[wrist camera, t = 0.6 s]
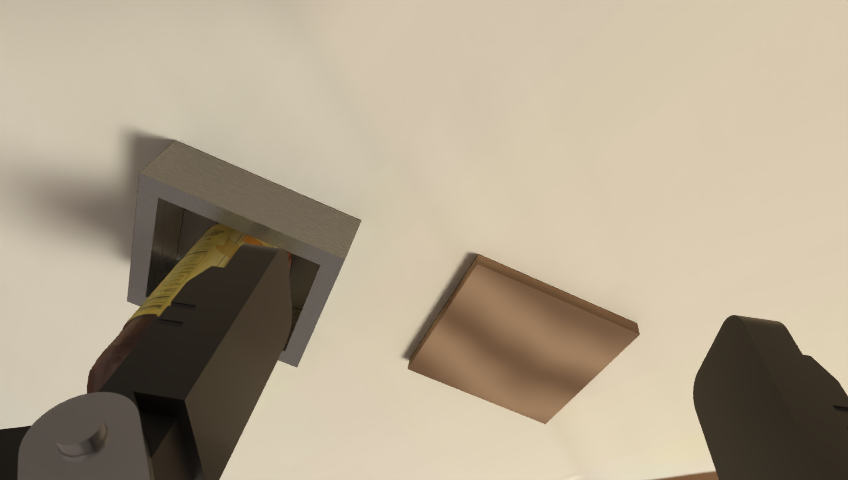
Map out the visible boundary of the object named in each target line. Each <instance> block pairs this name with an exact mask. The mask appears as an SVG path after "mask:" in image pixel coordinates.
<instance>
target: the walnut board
mask: <svg viewBox="0 0 848 480" xmlns="http://www.w3.org/2000/svg"><path fill="white" fill-rule="evenodd" d="M639 335H640V334H639V329H638V325H637V323H634V322H632V321H630V320H628V319H625V318H623V317H621V316H618V315H616V314H614V313H612V312H609V311H607V310H605V309H602V308H600V307H598V306H596V305H593V304H591V303H589V302H586V301H584V300H582V299H580V298H577V297H575V296H573V295H570V294H568V293H566V292H564V291H561V290H559V289H557V288H554V287H552V286H550V285H548V284H545V283H543V282H541V281H538V280H536V279H534V278H532V277H529V276H527V275H525V274H522V273H520V272H518V271H516V270H513V269H511V268H509V267H506V266H504V265H502V264H499V263H497V262H495V261H493V260H490V259H488V258H486V257H483V256H481V255H479V254H478V256H477V257H476V259H475V260H474V262H473V264H472V265H471V267H470V268H469V270H468V271H467V273H466V274H465V276H464V277H463V279H462V280H461V282H460V283H459V285H458V286H457V288H456V289H455V291H454V292H453V294H452V296H451V297H450V299H449V300H448V302H447V303H446V305H445V306H444V308H443V309H442V311H441V312H440V314H439V315H438V317H437V318H436V320H435V321H434V323H433V324H432V326H431V328H430V329H429V331H428V332H427V334H426V335H425V337H424V338H423V340H422V341H421V343H420V344H419V346H418V347H417V349H416V350H415V352H414V353H413V355H412V356H411V358H410V361H409V365H408V369H409V370H412V371H414V372H417V373H419V374H422V375H424V376H426V377H429V378H431V379H434V380H436V381H439V382H441V383H444V384H446V385H449V386H451V387H454V388H456V389H459V390H461V391H464V392H466V393H469V394H471V395H474V396H476V397H479V398H481V399H484V400H486V401H489V402H491V403H494V404H496V405H499V406H501V407H504V408H506V409H509V410H511V411H514V412H516V413H519V414H521V415H524V416H526V417H529V418H531V419H534V420H536V421H539V422H541V423H544V424H546V423H547V422H548V421H549V420H550V419H551V418H552V417H553V416H554V415H555V414H556V413H558V412H559V411H560V410H561V409H562V408H563V407H564V406H565V405H566V404H567V403H568V402H569V401H570V400H571V399H572V398H573V397H574V396H575V395H576V394H578V393H579V392H580V391H581V390H582V389H583V388H584V387H585V386H586V385H587V384H588V383H589V382H590V381H591V380H592V379H593V378H594V377H595V376H597V375H598V374H599V373H600V372H601V371H602V370H603V369H604V368H605V367H606V366H607V365H608V364H609V363H610V362H611V361H612V360H613V359H614V358H615V357H617V356H618V355H619V354H620V353H621V352H622V351H623V350H624V349H625V348H626V347H627V346H628V345H629V344H630V343H631V342H632V341H633V340H634V339H635V338H637V337H638V336H639Z"/></svg>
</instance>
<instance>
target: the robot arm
mask: <svg viewBox="0 0 848 480" xmlns="http://www.w3.org/2000/svg"><path fill="white" fill-rule="evenodd" d="M157 319H158V320H157V323H153V324H152V326H151V327H150V328H149V329H148V331H147V332H146V333H145V334H144V336H143V337H142V338H141V339H140V341H139V342H138V343H137V344H136V346H135V347H134V348H133V349H132V351H131V352H130V353H129V354H128V355H127V357H126V358H125V359H124V360H123V362H122V363H121V364H120V365H119V367H118V368H117V369H116V370H115V372H114V373H113V374H112V375H111V377H110V378H109V379H108V380H107V382H106V383H105V384H104V385H103V387H102V388H101V389H100V390H99V391H98V392H95V393H88V394H84V395H80V396H77V397H74V398H71V399H69V400H67V401H65V402H62V403H60V404H58V405H57V406H55V407H53V408H52V409H50V410H49V411H48V412H46V413H45V414H44V415H42V416H41V417H40V418H39V419H38V420H37V421H36V422H35V423H34V424H33V425H32V426H26V427H18V428H9V429H1V430H0V480H219V479H220V477H221V475H222V473H223V471H224V469H225V467H226V465H227V463H228V461H229V459H230V457H231V455H232V453H233V450H234V448H235V446H236V444H237V442H238V440H239V438H240V436H241V434H242V432H243V430H244V428H245V426H246V424H247V422H248V420H249V418H250V416H251V414H252V412H253V410H254V407H255V405H256V403H257V401H258V399H259V397H260V395H261V393H262V391H263V389H264V387H265V385H266V383H267V381H268V379H269V377H270V375H271V373H272V371H273V369H274V367H275V364H276V362H277V360H278V358H279V356H280V354H281V352H282V350H283V348H284V346H285V344H286V342H287V339H288V336H289V333H290V328H291V323H292V299H291V287H290V275H289V262H288V255H287V252H286V250H285V249H282V248H275V247H268V246H261V245H254V244H248V243H245V244H242V245H241V246H240V247H239V249H238V250H237V251H236V253H235V254H234V255H233V257H232V258H231V259H230V261H229V262H228V263H227V265H226V266H225V267H217V266H211V267H209V268H208V269H206V270H204V271H203V272H201V273H200V274H198V275H197V276H195V277H193V278H192V279H190V280H189V281H187V282H186V283H185V285H184V286H183V287H182V288H181V290H180V291H179V292H178V293H177V295H176V296H175V297H174V298H173V300H172V301H171V305H170V306H167V307H166V308H165V310H164V311H163V312H162V313H161V315H160V316H159V317H158V318H157ZM693 399H694V406H695V410H696V413H697V416H698V419H699V422H700V425H701V428H702V431H703V433H704V436H705V439H706V442H707V445H708V448H709V451H710V454H711V457H712V460H713V463H714V466H715V469H716V472H717V475H718V478H719V480H848V396H847V394H846V393H845V391H844V390H843V388H842V387H841V385H840V383H839V382H838V381H837V380H836V379H835V378H834V377H833V376H832V375H831V374H830V373H829V372H827V371H826V370H825V369H824V368H823V367H822V366H821V365H820V364H819V363H818V362H817V361H815V360H814V359H813V358H812V357H811V356H808V355H802V353H801V351H800V350H799V348H798V346H797V345H796V343H795V341H794V340H793V338H792V336H791V335H790V333H789V331H788V330H787V328H786V327H785V326H784V325H783V324H782V323H780V322H778V321H772V320H765V319H758V318H751V317H744V316H737V315H732V316H729V317H728V318H727V319H726V320H725V321H724V323H723V325H722V327H721V328H720V330H719V332H718V334H717V336H716V338H715V340H714V342H713V344H712V346H711V348H710V350H709V352H708V353H707V355H706V357H705V359H704V361H703V363H702V365H701V367H700V369H699V371H698V373H697V375H696V378H695V382H694V390H693Z"/></svg>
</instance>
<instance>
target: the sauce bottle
mask: <svg viewBox="0 0 848 480" xmlns="http://www.w3.org/2000/svg"><path fill="white" fill-rule="evenodd" d="M245 243H248V244H254V245H261V246H268V247H275V248H278V247H276V246H273V245H271V244H268V243H266V242H264V241H261V240H259V239H256V238H254V237H252V236H249V235H247V234H244V233H242V232H240V231H237V230H235V229H233V228H230V227H228V226H225V225H223V224H221V223H217V224H216V225H215V226H213V227H211V228H209V229H208V230H207V231H206V232H205V233H204V234H203V235H202V237H201V238H200V239H199V240H198V241H197V242H196V243H195V244H194V246H193V247H192V248H191V249H190V250H189V251H188V253H187V254H186V255H185V256H184V257H183V258H182V259H181V261H180V262H179V263H178V264H177V265H176V266H175V267H174V268H173V269H172V271H171V272H170V273H169V274H168V275H167V276H166V278H165V279H164V280H163V281H162V282H161V283H160V284H159V286H158V287H157V288H156V289H155V290H154V291H153V293H152V294H151V295H150V296H149V297H148V298H147V299H146V301H145V302H144V303H143V304H142V305H141V306H140V308H139V309H138V310H137V311H136V312H135V313H134V315H133V316H132V317H131V318H130V319H129V320H128V321H127V323H126V324H125V326H124V327H123V330H122V331H121V332H120V334H119V335H118V336H117V337H116V339H115V340H114V341H113V342H112V343H111V344H110V345H109V346H108V348H107V349H105V350H104V352H103V353H102V354H101V355H100V357H99V358H98V359H97V361H96V363H95V364H94V366H93V367H92V369H91V370H90V373H89V376H88V384H87V394H88V393H95V392H98V391H99V390H100V389H101V388H102V387H103V385H104V384H105V383H106V382H107V380H108V379H109V378H110V377H111V375H112V374H113V373H114V372H115V370H116V369H117V368H118V367H119V365H120V364H121V363H122V362H123V360H124V359H125V358H126V357H127V355H128V354H129V353H130V352H131V351H132V349H133V348H134V347H135V346H136V344H137V343H138V342H139V341H140V339H141V338H142V337H143V336H144V334H145V333H146V332H147V331H148V329H149V328H150V327H151V326H152V324H153V323H157V320H158V319H157V318H158V317H159V316H160V315H161V313H162V312H163V311H164V310H165V308H166V307H167V306H170V305H171V301H172V300H173V298H174V297H175V296H176V295H177V293H178V292H179V291H180V290H181V288H182V287H183V286H184V285H185V283H186V282H187V281H189V280H190V279H192V278H193V277H195V276H197V275H198V274H200V273H201V272H203V271H204V270H206V269H208V268H209V267H211V266H217V267H225V266H226V265H227V263H228V262H229V261H230V259H231V258H232V257H233V255H234V254H235V253H236V251H237V250H238V249H239V247H240V246H241V245H242V244H245ZM286 252H287V255H288V262H289V272H290V268H291V263H292V253H290V252H288V251H286Z"/></svg>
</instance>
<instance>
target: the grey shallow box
mask: <svg viewBox="0 0 848 480" xmlns="http://www.w3.org/2000/svg"><path fill="white" fill-rule="evenodd" d="M184 208H185V209H187V210H189V211H192V212H194V213H197V214H199V215H201V216H204V217H206V218H209V219H211V220H213V221H216V222H218V223H221V224H223V225H225V226H228V227H230V228H233V229H235V230H237V231H240V232H242V233H244V234H247V235H249V236H252V237H254V238H256V239H259V240H261V241H264V242H266V243H268V244H271V245H273V246H276V247H278V248H282V249H285V250H286V251H288V252H290V253H292V254H295V255H297V256H300V257H302V258H304V259H307V260H309V261H312V262H314V263H316V264H319V265H320V267H319V270H318V272H317V275H316V277H315V280H314V282H313V284H312V287H311V289H310V292H309V294H308V297H307V299H306V302H305V304H304V306H303V309H302V311H301V310H299V309H296V308H294V307H292V323H291V328H290V333H289V336H288V339H287V342H286V344H285V346H284V348H283V350H282V352H281V354H280V356H279V358H278V360H279V361H282V362H284V363H287V364H290V365H292V366H295V367H297V366H298V364H299V362H300V360H301V357H302V355H303V353H304V351H305V348H306V346H307V344H308V342H309V339H310V337H311V335H312V333H313V330H314V328H315V326H316V324H317V321H318V319H319V317H320V315H321V312H322V310H323V308H324V306H325V303H326V301H327V299H328V297H329V294H330V292H331V290H332V287H333V285H334V283H335V281H336V278H337V276H338V274H339V272H340V269H341V267H342V265H343V263H344V260H345V258H346V256H347V253H348V251H349V249H350V246H351V244H352V242H353V239H354V237H355V234H356V232H357V230H358V227H359V225H360V223H361V220H358V219H356V218H354V217H351V216H349V215H347V214H345V213H342V212H340V211H338V210H335V209H333V208H331V207H328V206H326V205H324V204H321V203H319V202H317V201H315V200H312V199H310V198H308V197H305V196H303V195H301V194H298V193H296V192H294V191H291V190H289V189H287V188H284V187H282V186H280V185H278V184H275V183H273V182H271V181H268V180H266V179H264V178H261V177H259V176H257V175H254V174H252V173H250V172H247V171H245V170H243V169H241V168H238V167H236V166H234V165H231V164H229V163H227V162H224V161H222V160H220V159H217V158H215V157H213V156H210V155H208V154H206V153H204V152H201V151H199V150H197V149H194V148H192V147H190V146H187V145H185V144H183V143H180V142H178V141H174V142H173V143H172V144H171V145H170V146H169V147H168V148H167V149H165V150H164V151H163V152H162V153H161V154H160V155H159V156H158V157H157V158H155V159H154V160H153V161H152V162H151V163H150V164H149V165H148V166H146V167H145V168H144V169H143V170H142V171H141V172H140V173H139V182H138V192H137V203H136V213H135V224H134V234H133V245H132V255H131V266H130V276H129V287H128V297H127V301H128V302H130V303H133V304H135V305H138V306H141V305H142V304H143V303H144V302H145V301H146V299H147V298H148V297H149V296H150V295H151V294H152V293H153V291H154V290H155V289H156V288H157V287H158V286H159V284H160V283H161V282H162V281H163V280H164V279H165V278H166V276H167V275H168V274H169V273H170V272H171V271H172V269H173V268H174V267H175V266H176V265H177V264H178V263H179V262H180V261H178V260H176V255H177V249H178V243H179V237H180V231H181V225H182V219H183V213H184Z"/></svg>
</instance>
